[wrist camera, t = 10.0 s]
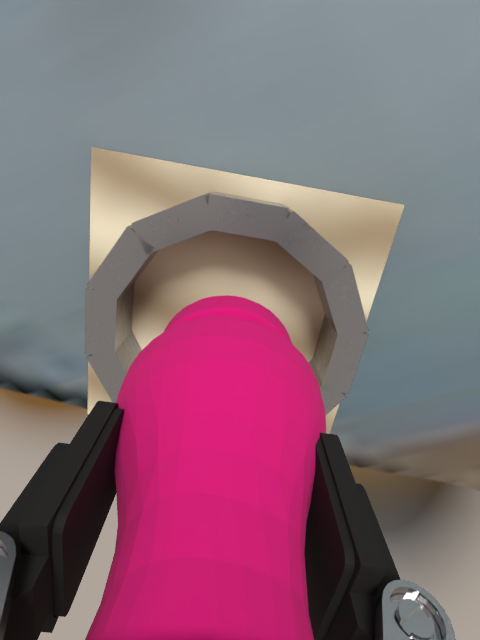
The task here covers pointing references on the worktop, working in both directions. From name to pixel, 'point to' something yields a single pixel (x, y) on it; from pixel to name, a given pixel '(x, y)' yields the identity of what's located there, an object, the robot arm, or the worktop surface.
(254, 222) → the steel ring collar
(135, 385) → the pepper mill
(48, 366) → the worktop surface
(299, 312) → the birch board
